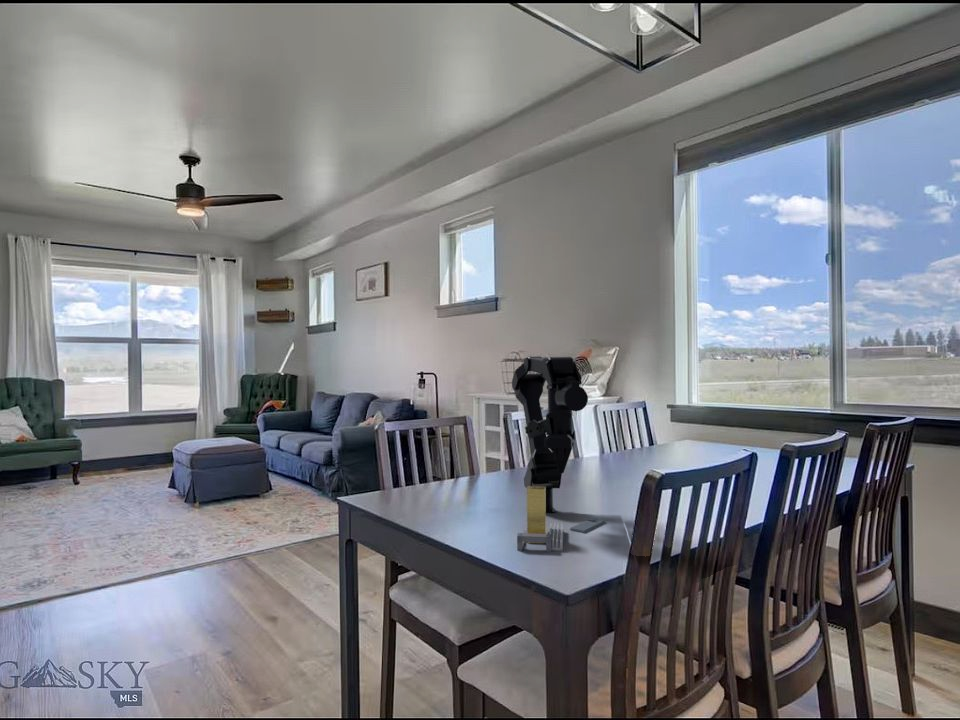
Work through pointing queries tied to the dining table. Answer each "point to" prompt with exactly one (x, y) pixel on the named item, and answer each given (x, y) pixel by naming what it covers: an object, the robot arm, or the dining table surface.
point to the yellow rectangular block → (536, 510)
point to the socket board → (543, 539)
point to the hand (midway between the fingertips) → (561, 472)
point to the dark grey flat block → (587, 525)
